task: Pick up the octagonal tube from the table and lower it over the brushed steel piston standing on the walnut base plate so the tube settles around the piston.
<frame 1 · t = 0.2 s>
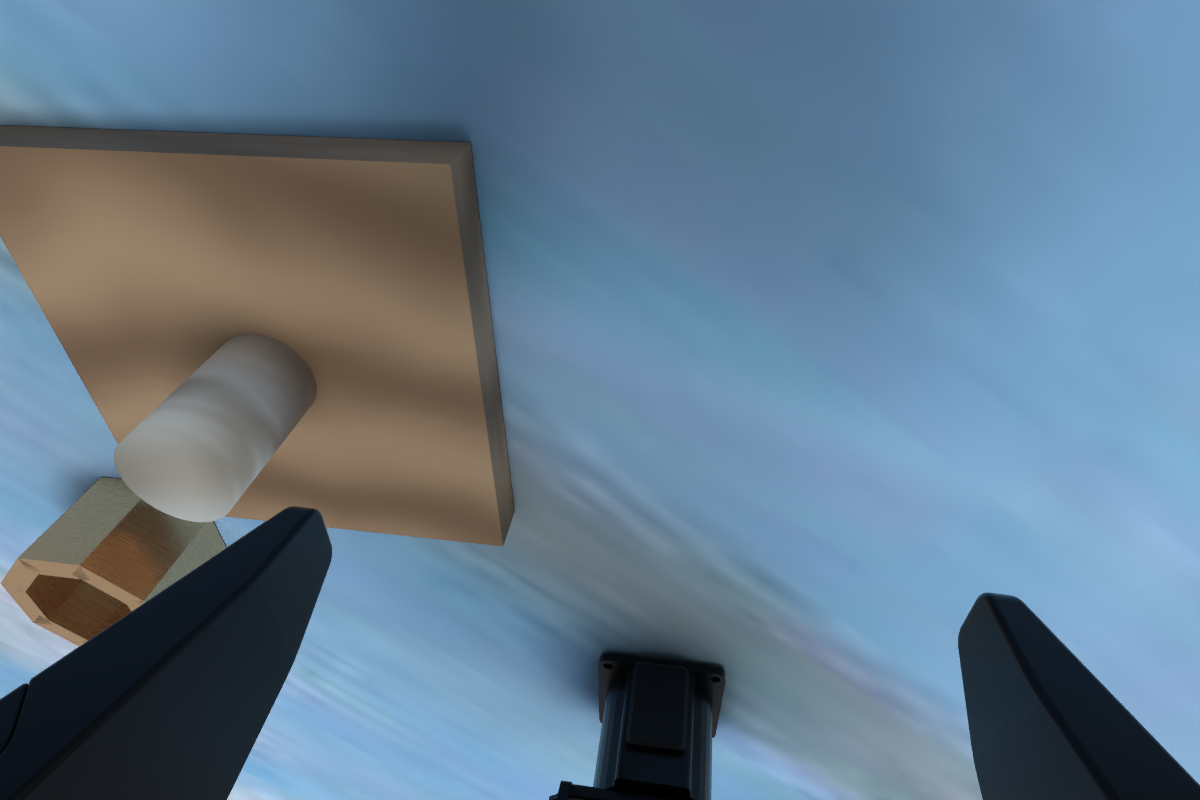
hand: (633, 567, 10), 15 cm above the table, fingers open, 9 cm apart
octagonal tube: (157, 529, 35), on the table
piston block: (295, 346, 27), on the table
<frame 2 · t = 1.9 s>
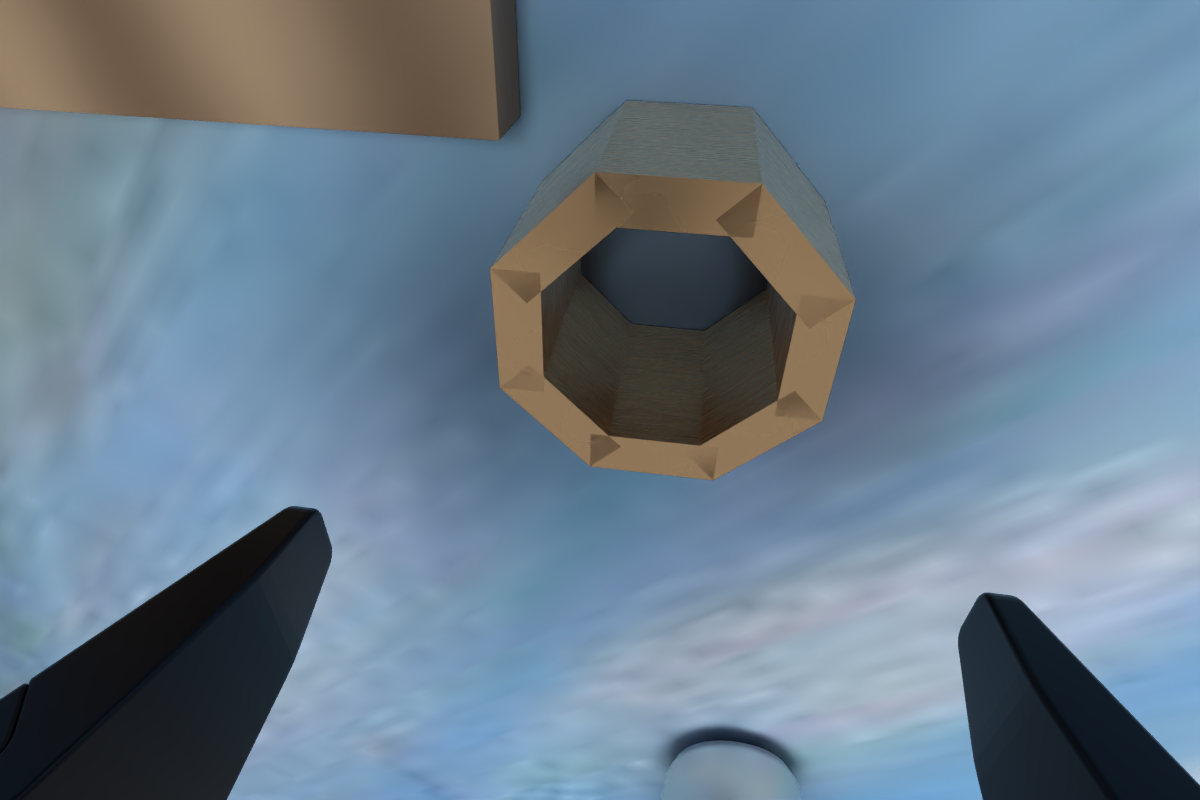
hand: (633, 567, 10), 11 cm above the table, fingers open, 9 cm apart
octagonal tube: (675, 245, 18), on the table
plastic bottle: (732, 753, 33), on the table
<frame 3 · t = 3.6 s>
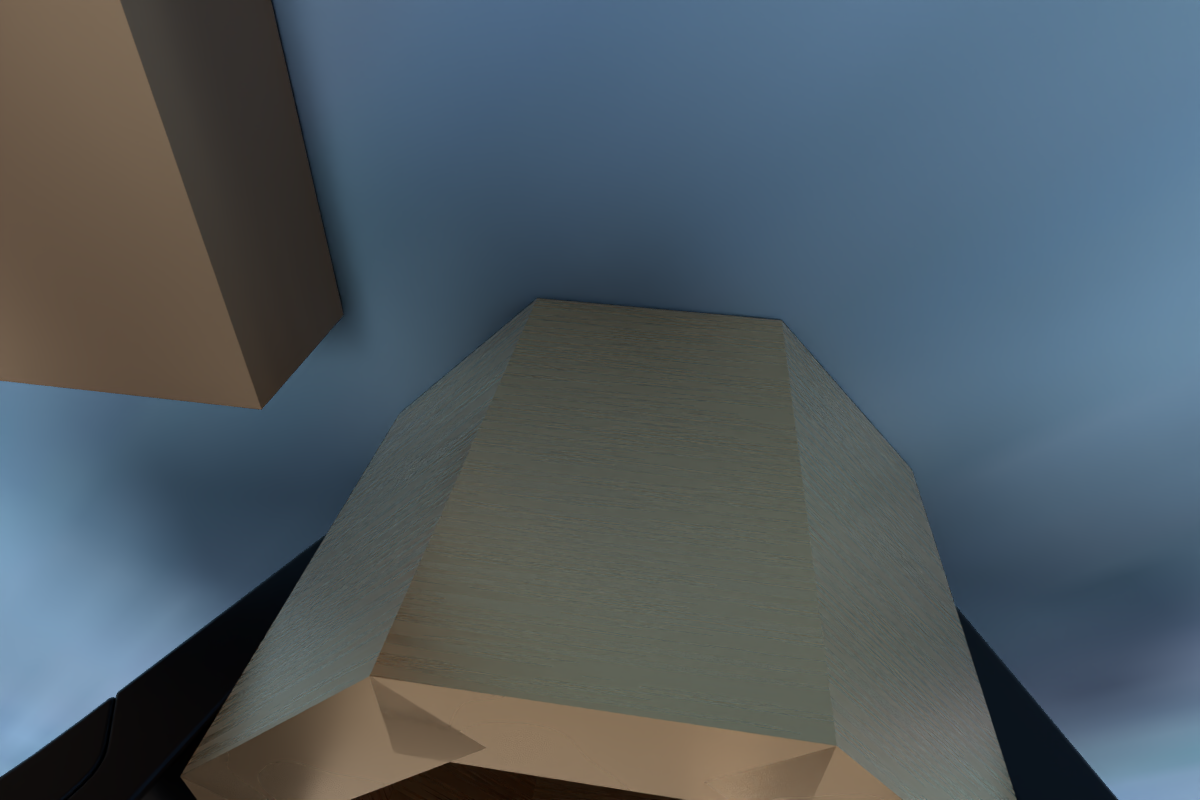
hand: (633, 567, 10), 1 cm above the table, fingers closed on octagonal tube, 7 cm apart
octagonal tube: (640, 514, 10), on the table, touching gripper
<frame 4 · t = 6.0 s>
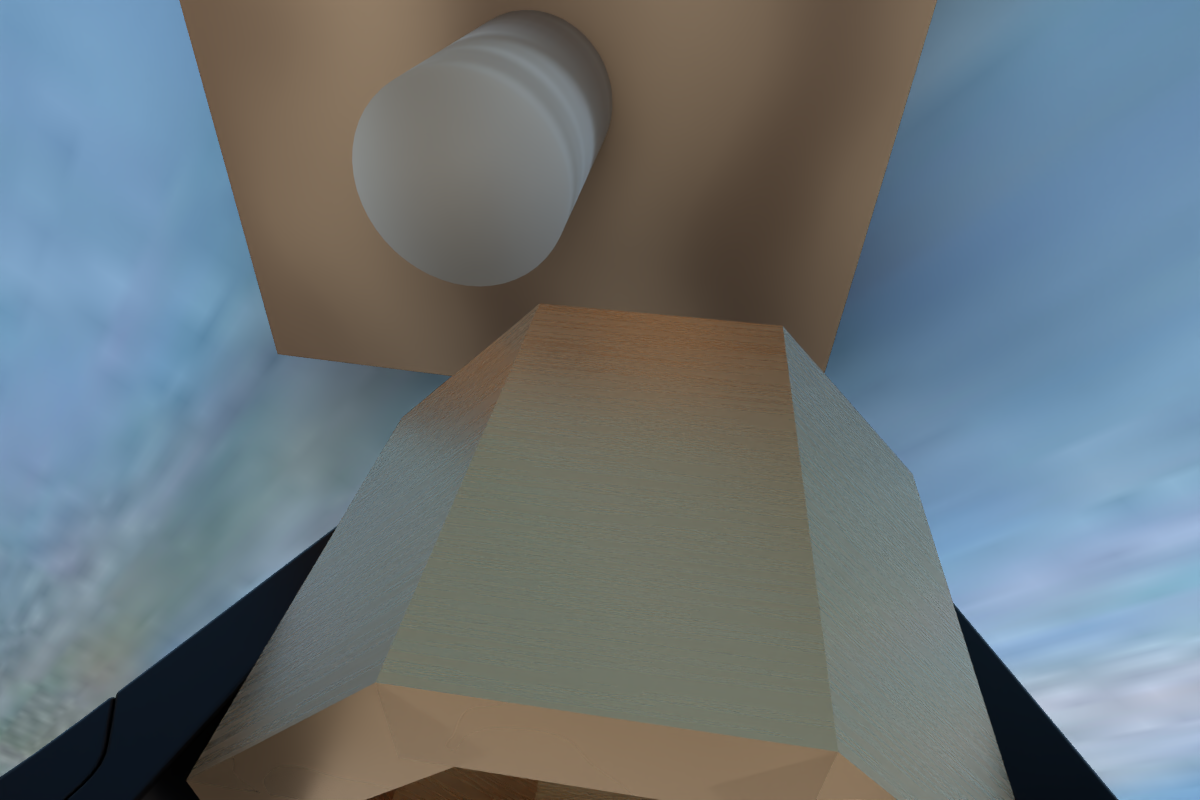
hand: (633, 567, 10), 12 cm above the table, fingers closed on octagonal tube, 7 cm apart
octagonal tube: (641, 518, 10), point 11 cm above the table, touching gripper
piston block: (550, 80, 17), on the table
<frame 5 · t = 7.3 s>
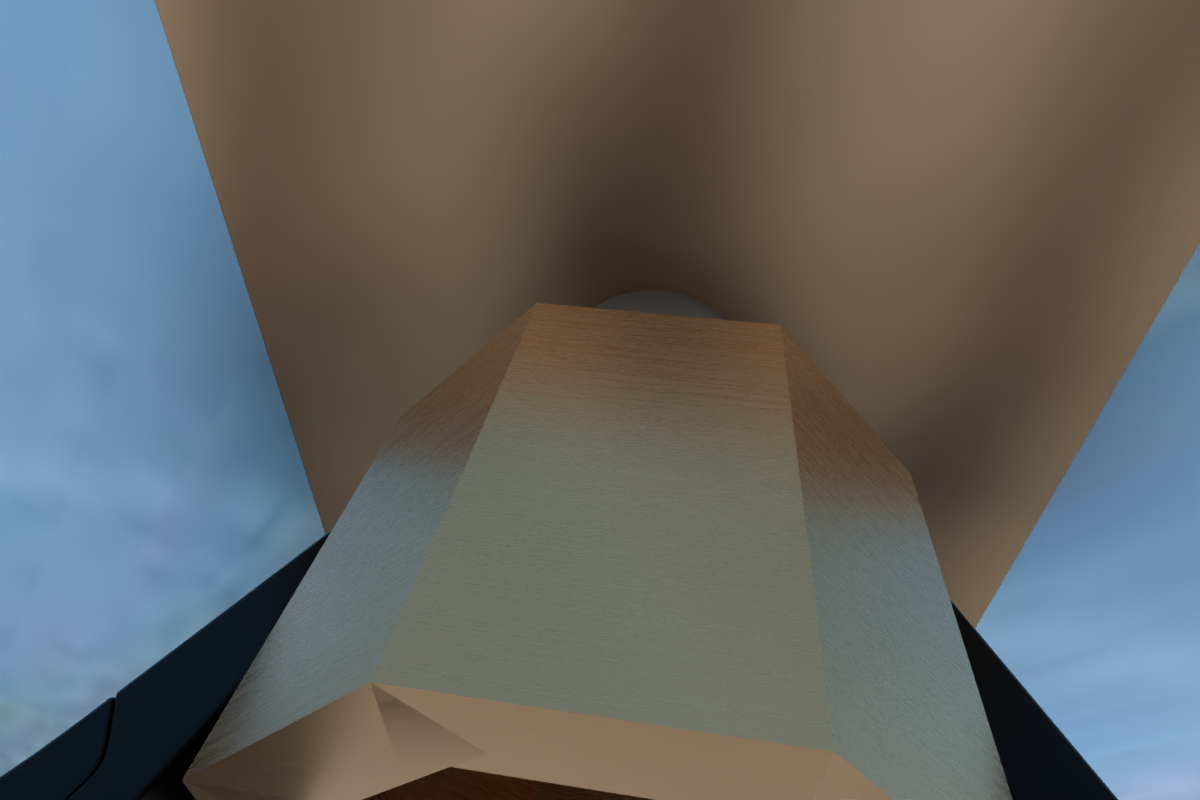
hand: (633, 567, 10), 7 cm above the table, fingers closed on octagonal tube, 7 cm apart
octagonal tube: (639, 517, 10), point 6 cm above the table, touching gripper
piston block: (662, 321, 15), on the table
when the fingers open (4 cm above the table, at t = 8.5 s): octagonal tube stays where it is, resting on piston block.
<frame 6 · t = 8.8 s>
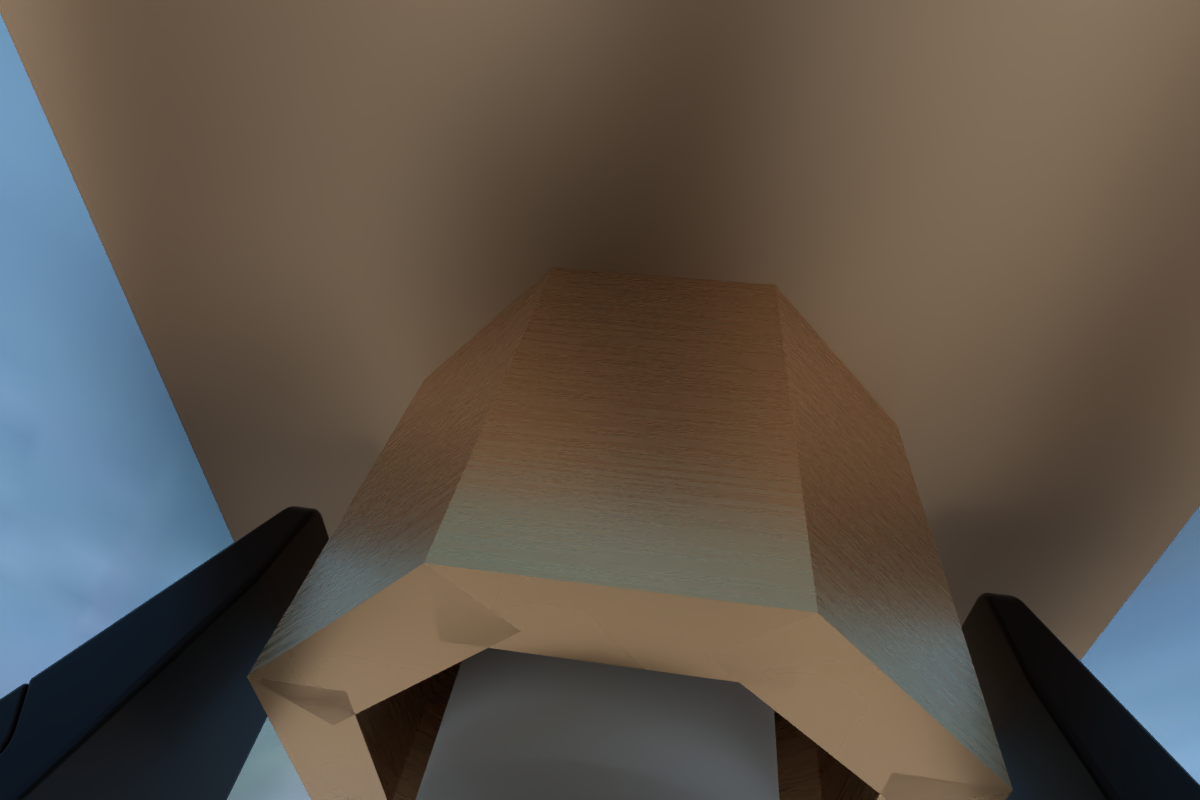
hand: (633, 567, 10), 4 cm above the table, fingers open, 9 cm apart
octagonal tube: (646, 473, 11), point 2 cm above the table, touching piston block
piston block: (654, 396, 13), on the table
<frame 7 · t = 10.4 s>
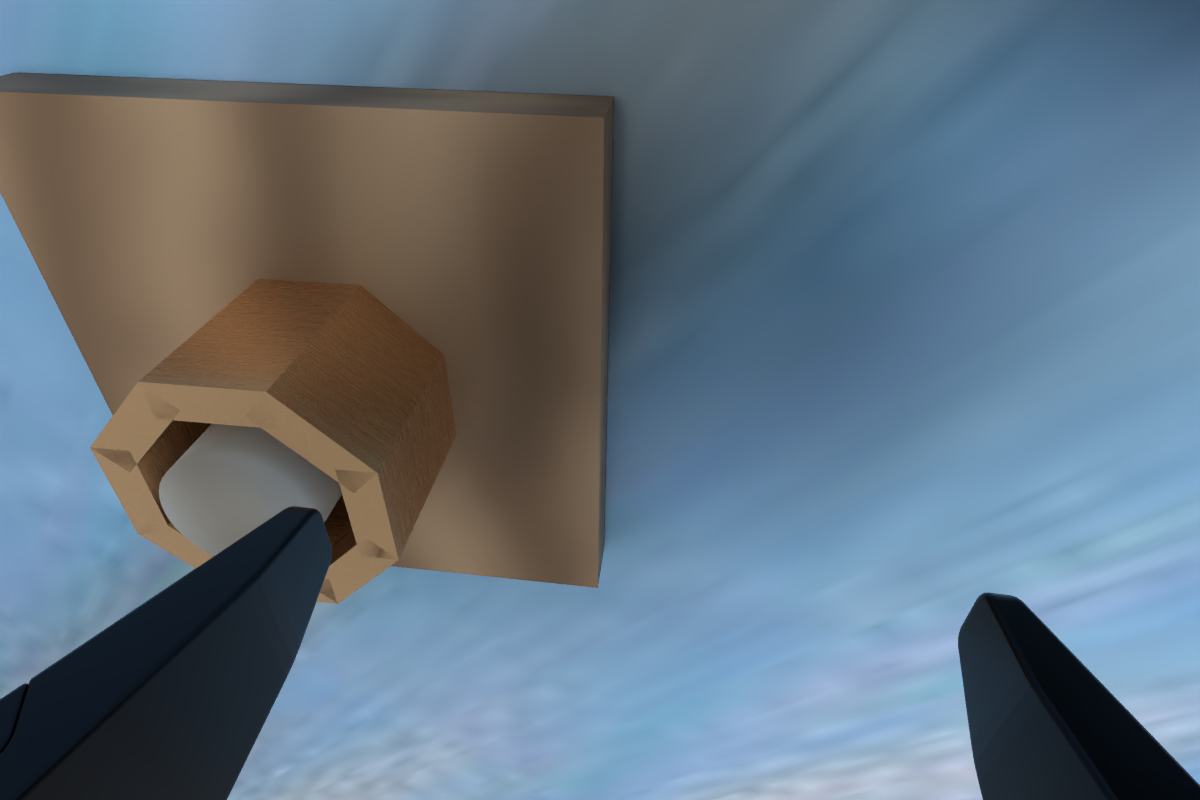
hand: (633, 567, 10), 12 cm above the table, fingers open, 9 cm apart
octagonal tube: (337, 387, 21), point 2 cm above the table, touching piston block
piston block: (361, 351, 22), on the table
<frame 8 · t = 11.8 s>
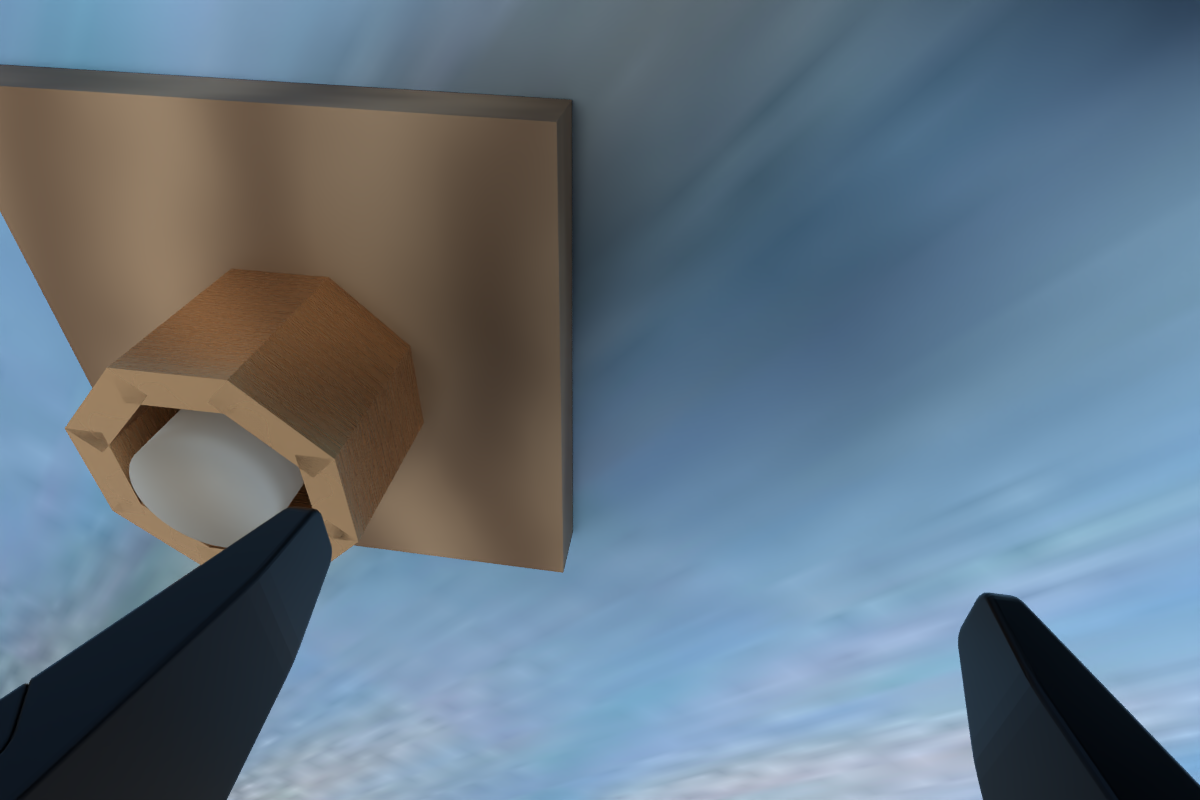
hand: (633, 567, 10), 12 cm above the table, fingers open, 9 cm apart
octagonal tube: (309, 374, 22), point 2 cm above the table, touching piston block
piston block: (335, 339, 23), on the table
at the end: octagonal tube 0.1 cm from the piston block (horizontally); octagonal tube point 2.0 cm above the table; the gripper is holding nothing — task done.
